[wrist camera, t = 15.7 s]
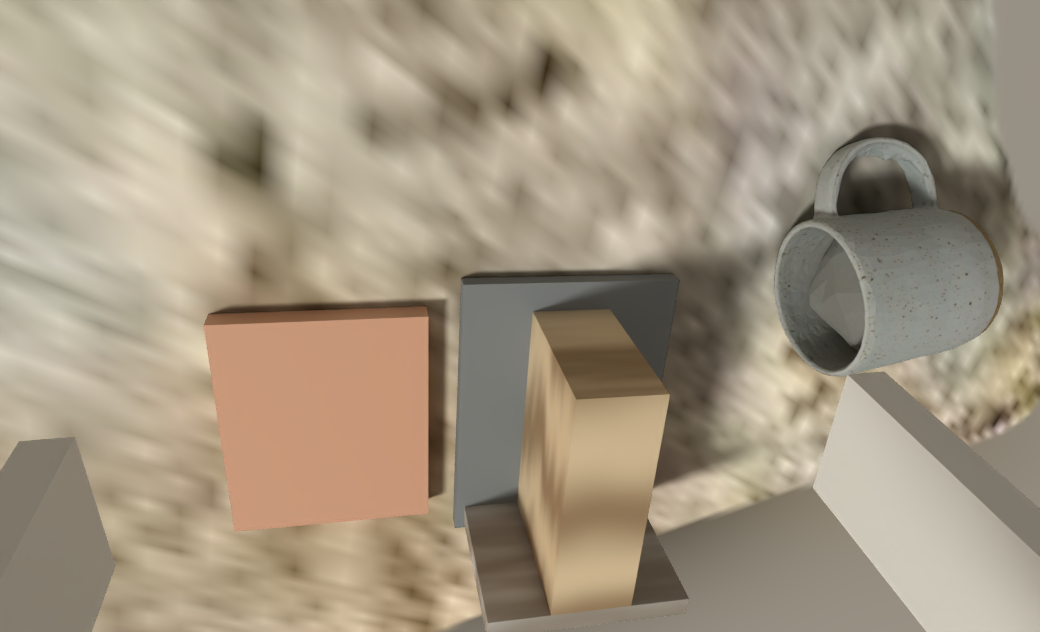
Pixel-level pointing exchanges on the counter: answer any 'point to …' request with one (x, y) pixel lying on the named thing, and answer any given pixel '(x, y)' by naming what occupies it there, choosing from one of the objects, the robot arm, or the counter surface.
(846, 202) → the counter surface
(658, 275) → the slate mat
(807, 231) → the ceramic mug
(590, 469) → the tan rectangular block
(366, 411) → the terracotta tile
